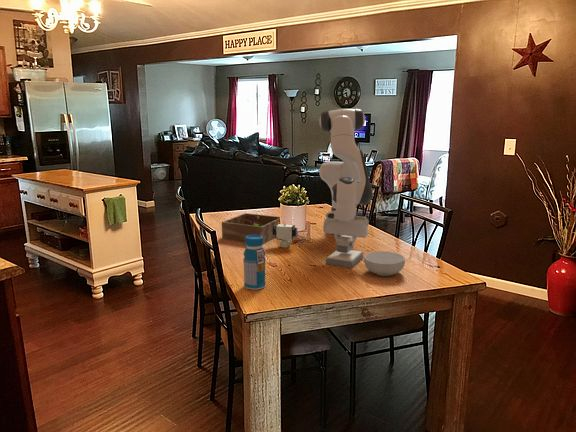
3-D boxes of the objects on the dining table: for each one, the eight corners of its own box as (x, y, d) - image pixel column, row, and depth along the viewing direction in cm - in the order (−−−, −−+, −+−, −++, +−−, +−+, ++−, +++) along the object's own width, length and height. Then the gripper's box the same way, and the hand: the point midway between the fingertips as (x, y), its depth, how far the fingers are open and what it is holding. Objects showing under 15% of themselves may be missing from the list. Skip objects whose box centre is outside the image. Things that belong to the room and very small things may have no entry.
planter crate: (245, 228, 270) (245, 213, 268) (283, 233, 260) (283, 217, 258) (222, 238, 249) (221, 222, 247) (262, 244, 239) (261, 227, 237)
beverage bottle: (243, 290, 179) (242, 239, 175) (244, 282, 188) (243, 233, 183) (265, 290, 180) (265, 239, 175) (265, 282, 188) (265, 233, 183)
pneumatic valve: (295, 248, 232) (295, 225, 229) (272, 247, 234) (272, 223, 231) (297, 245, 237) (297, 222, 234) (275, 244, 239) (274, 221, 237)
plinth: (338, 253, 224) (338, 247, 223) (362, 257, 219) (363, 251, 218) (325, 263, 210) (326, 257, 209) (351, 267, 205) (352, 261, 204)
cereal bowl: (372, 263, 210) (373, 248, 208) (409, 270, 202) (410, 254, 200) (357, 275, 196) (358, 259, 194) (396, 282, 187) (397, 266, 186)
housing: (342, 246, 217) (343, 234, 216) (353, 248, 215) (353, 235, 214) (336, 251, 210) (336, 238, 209) (347, 253, 208) (347, 239, 207)
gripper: (370, 215, 208) (369, 245, 211) (327, 211, 216) (326, 240, 219) (366, 218, 202) (365, 249, 205) (322, 213, 211) (321, 243, 214)
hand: (345, 244), depth 212 cm, fingers closed on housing, 5 cm apart
